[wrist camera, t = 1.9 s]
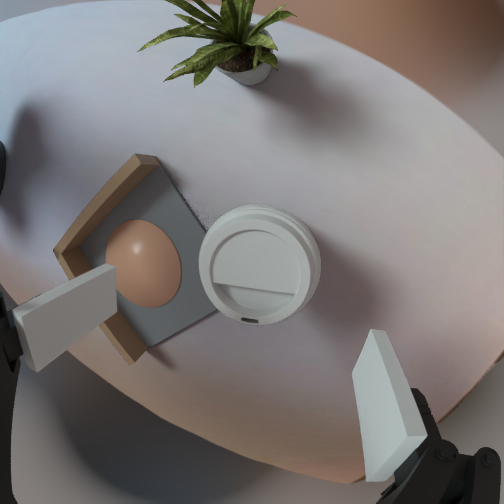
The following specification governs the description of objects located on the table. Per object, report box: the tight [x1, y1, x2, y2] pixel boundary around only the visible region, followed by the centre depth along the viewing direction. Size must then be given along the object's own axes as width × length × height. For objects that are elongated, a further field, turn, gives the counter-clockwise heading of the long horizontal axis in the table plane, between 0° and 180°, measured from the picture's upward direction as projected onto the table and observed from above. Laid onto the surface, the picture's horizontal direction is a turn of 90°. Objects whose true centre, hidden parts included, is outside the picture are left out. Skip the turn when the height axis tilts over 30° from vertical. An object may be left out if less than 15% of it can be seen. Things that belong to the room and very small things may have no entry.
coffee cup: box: [199, 204, 321, 325], centre depth 27 cm, size 10×10×15 cm
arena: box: [53, 154, 217, 365], centre depth 36 cm, size 22×22×5 cm
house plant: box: [137, 0, 296, 88], centre depth 21 cm, size 14×14×16 cm
